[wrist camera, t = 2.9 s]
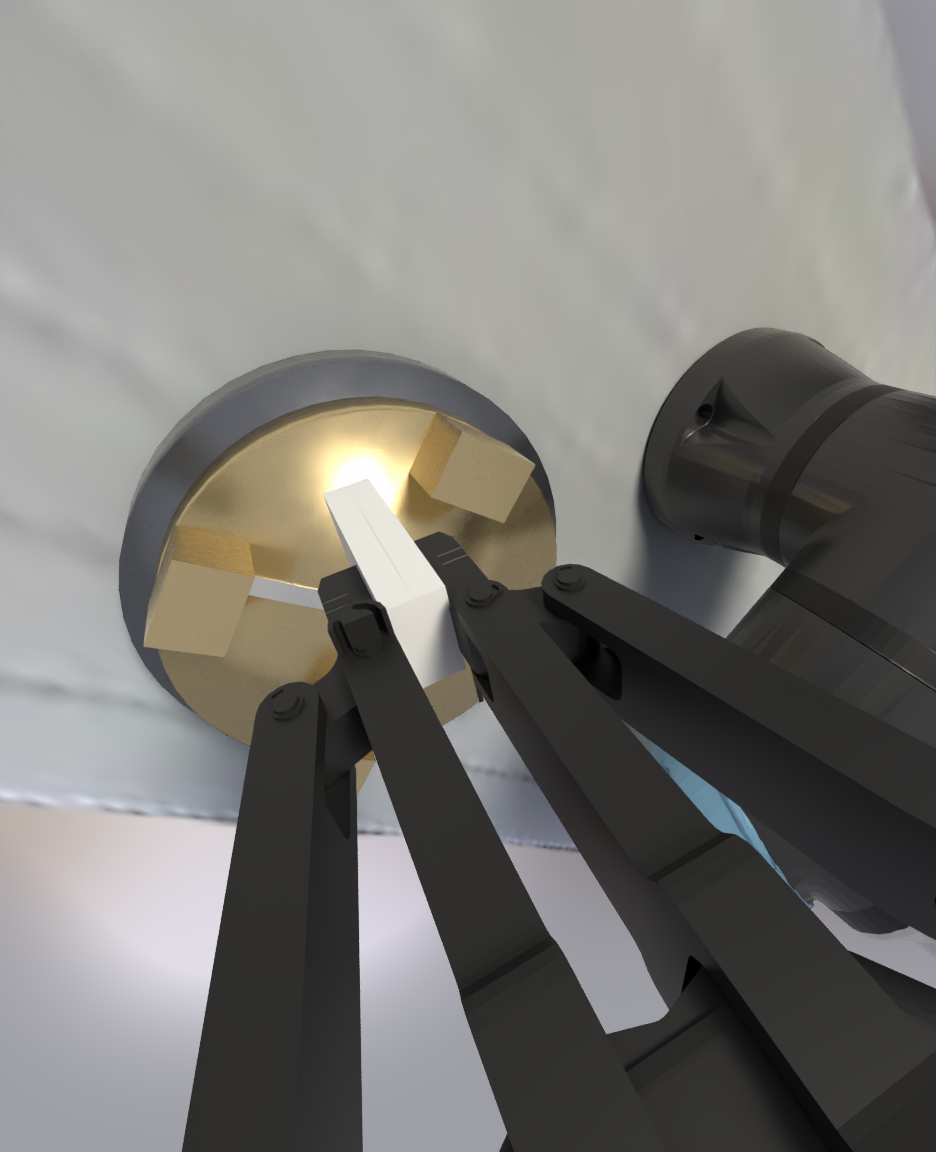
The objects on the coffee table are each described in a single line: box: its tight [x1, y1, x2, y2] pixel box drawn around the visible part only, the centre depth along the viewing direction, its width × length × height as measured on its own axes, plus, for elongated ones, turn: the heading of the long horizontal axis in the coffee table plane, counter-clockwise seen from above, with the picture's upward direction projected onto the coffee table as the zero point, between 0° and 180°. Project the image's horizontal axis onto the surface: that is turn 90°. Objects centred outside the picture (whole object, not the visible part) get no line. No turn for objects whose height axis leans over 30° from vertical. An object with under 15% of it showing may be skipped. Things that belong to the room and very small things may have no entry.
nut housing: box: [119, 350, 556, 714], centre depth 32 cm, size 24×24×3 cm
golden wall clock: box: [143, 396, 557, 795], centre depth 28 cm, size 21×21×6 cm
